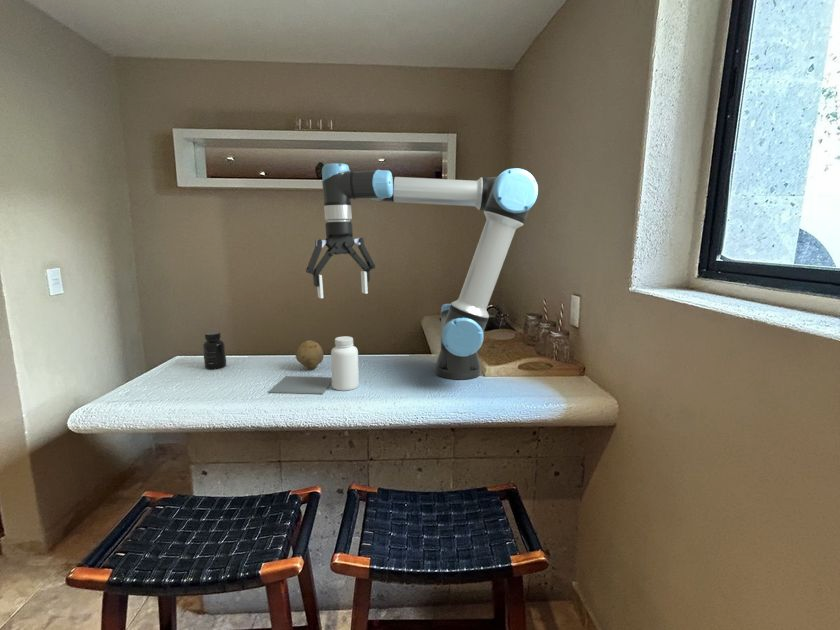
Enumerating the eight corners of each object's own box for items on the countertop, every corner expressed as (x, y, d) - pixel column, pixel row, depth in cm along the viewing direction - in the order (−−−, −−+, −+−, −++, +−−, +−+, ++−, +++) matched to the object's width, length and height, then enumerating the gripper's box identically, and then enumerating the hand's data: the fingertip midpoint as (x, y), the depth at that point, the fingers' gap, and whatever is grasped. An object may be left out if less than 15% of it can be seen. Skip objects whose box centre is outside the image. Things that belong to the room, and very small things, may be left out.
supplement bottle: (210, 363, 158) (207, 330, 156) (230, 364, 158) (227, 330, 156) (200, 369, 151) (197, 335, 149) (220, 370, 151) (217, 335, 149)
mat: (335, 378, 143) (335, 377, 143) (322, 394, 129) (322, 393, 129) (285, 377, 144) (285, 376, 144) (268, 393, 130) (268, 391, 130)
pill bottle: (338, 393, 130) (336, 342, 127) (327, 385, 137) (326, 337, 134) (363, 387, 134) (362, 339, 132) (351, 380, 141) (350, 333, 138)
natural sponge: (290, 371, 150) (289, 342, 148) (305, 364, 158) (304, 336, 156) (314, 374, 147) (313, 344, 145) (328, 366, 155) (327, 338, 153)
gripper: (373, 220, 137) (376, 290, 141) (291, 222, 125) (297, 298, 129) (384, 220, 131) (387, 292, 134) (298, 221, 118) (304, 301, 122)
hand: (343, 295), depth 132 cm, fingers open, 13 cm apart
